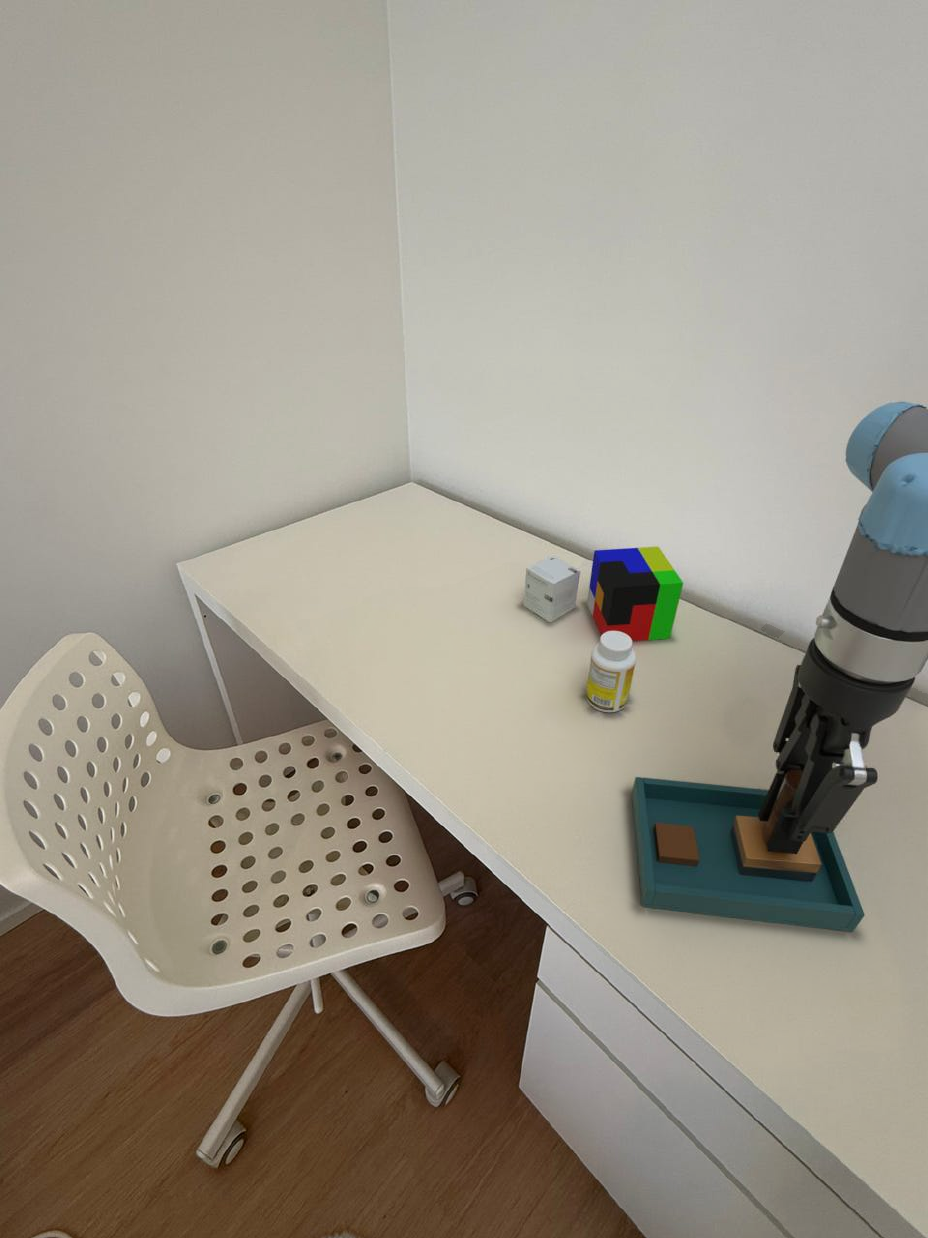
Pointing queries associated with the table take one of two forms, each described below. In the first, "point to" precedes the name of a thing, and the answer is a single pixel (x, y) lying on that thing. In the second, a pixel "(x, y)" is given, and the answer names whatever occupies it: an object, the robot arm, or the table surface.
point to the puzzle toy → (634, 592)
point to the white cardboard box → (551, 588)
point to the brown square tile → (676, 844)
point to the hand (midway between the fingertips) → (777, 833)
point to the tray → (732, 862)
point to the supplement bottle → (611, 672)
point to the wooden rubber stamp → (755, 835)
